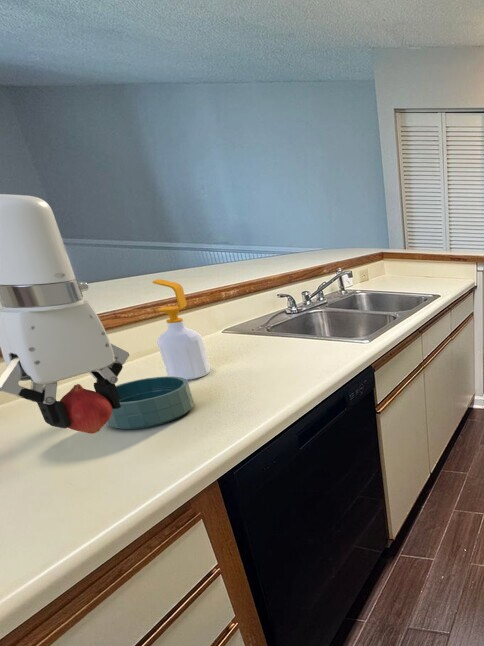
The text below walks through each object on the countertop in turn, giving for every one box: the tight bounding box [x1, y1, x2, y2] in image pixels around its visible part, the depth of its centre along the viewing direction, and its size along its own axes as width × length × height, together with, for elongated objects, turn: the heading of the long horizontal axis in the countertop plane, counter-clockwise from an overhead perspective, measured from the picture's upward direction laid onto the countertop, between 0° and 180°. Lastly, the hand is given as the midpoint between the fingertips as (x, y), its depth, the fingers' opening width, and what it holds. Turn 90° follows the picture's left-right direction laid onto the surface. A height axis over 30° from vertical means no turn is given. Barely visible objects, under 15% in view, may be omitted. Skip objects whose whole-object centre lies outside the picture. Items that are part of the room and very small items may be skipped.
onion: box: [59, 383, 112, 435], centre depth 62 cm, size 6×6×8 cm
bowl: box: [105, 376, 195, 430], centre depth 88 cm, size 15×15×6 cm
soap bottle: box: [152, 278, 211, 381], centre depth 106 cm, size 9×9×25 cm
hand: (86, 415), depth 63 cm, fingers closed on onion, 5 cm apart
